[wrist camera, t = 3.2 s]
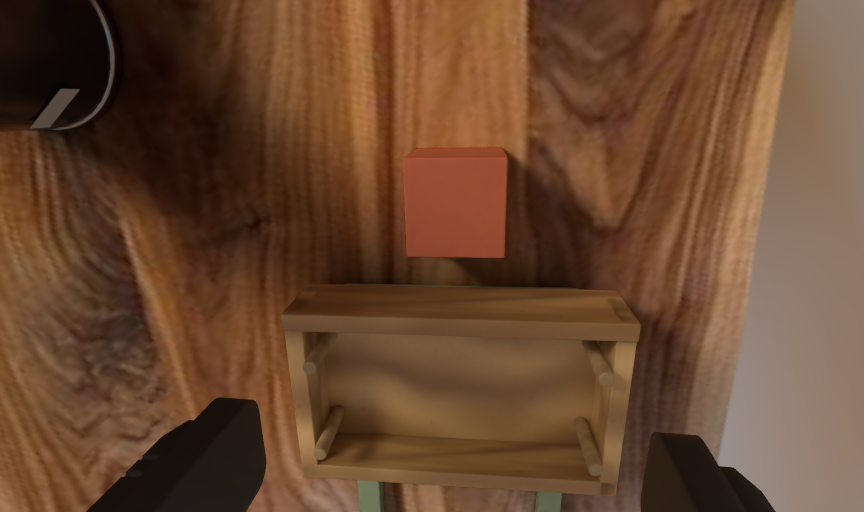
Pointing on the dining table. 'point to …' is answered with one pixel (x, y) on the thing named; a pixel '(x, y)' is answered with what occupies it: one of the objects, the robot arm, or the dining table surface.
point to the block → (455, 202)
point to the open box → (462, 385)
